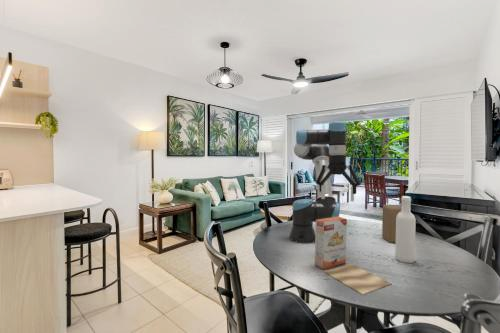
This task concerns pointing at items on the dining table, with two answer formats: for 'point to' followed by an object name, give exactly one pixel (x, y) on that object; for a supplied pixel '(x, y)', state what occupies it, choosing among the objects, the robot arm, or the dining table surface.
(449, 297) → the dining table surface
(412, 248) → the bottle
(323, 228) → the cracker box
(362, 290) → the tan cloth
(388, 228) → the wooden block
